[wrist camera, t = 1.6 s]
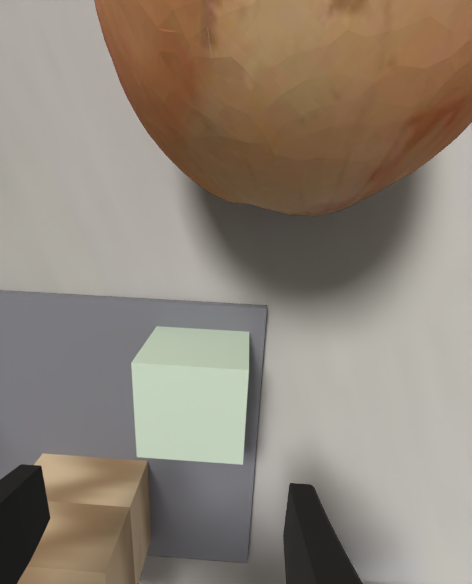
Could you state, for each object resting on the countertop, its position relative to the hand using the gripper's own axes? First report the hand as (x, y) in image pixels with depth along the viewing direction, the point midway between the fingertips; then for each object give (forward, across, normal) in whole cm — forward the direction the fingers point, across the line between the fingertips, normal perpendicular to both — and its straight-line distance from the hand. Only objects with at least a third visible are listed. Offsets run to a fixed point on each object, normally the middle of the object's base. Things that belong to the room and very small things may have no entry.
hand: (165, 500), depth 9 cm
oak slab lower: (+7, +6, +9) cm, 13 cm away
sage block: (+7, 0, 0) cm, 7 cm away
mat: (+8, +4, +5) cm, 10 cm away
